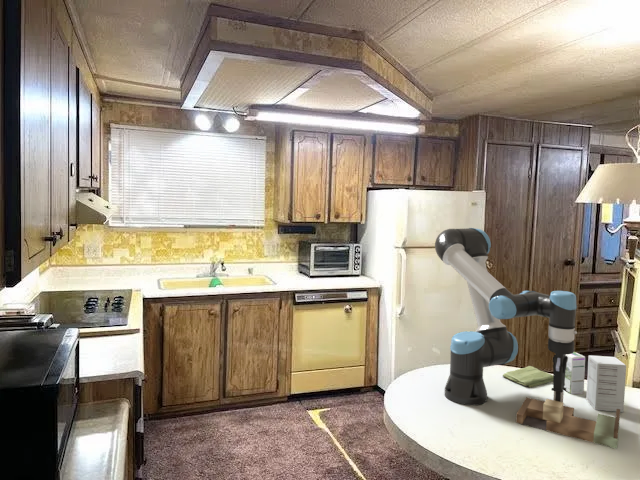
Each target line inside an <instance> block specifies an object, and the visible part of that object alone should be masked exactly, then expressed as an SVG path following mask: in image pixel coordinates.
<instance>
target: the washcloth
mask: <svg viewBox="0 0 640 480" xmlns="http://www.w3.org/2000/svg"><path fill="white" fill-rule="evenodd" d="M502 377H503V378H504V379H507V380H510V381H512V382H514V383H517V384H520V385H523V386H525V387H527V388H534V387H537V386H541V385H544V384H547V383H551V382H553V374H551V373H549V372H546V371H543V370H540V369H538V368H537V367H535V366H531V365H528V366H526V367H522V368H519V369H515V370H510V371H507V372H506V373H504V374H502Z"/></svg>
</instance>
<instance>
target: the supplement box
mask: <svg viewBox="0 0 640 480" xmlns="http://www.w3.org/2000/svg"><path fill="white" fill-rule="evenodd" d="M587 357H588V361H587V380H586V396H585V397H586V401H587V402H588V403H589V405H590V406H591V407H592V408H593V409H594V410H596V411H604V412H605V411H607V412H615V413H616V409H620V413H624V410H625V409H624V408H625V393H626V391H625V390H626V376H627V373H626V372H627V365H626V364H625V363H624V362H623V361H621V360H620V359H618V358H617V357H616V356H605V355H604V356H602V355H592V354H591V355H588V356H587Z"/></svg>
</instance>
